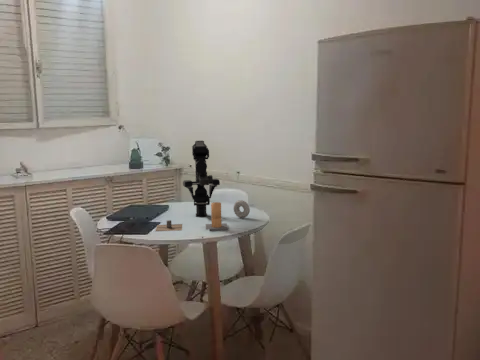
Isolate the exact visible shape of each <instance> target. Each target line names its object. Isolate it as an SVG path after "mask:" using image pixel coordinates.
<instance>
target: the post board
mask: <svg viewBox="0 0 480 360" xmlns="http://www.w3.org/2000/svg"><path fill="white" fill-rule="evenodd" d="M182 230H183V223H180V224H179V223H178V224H177V223H176V224H172V220H171V219H167V220H166V224H156V228H155V232H170V231H173V232H175V231H182Z"/></svg>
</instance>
